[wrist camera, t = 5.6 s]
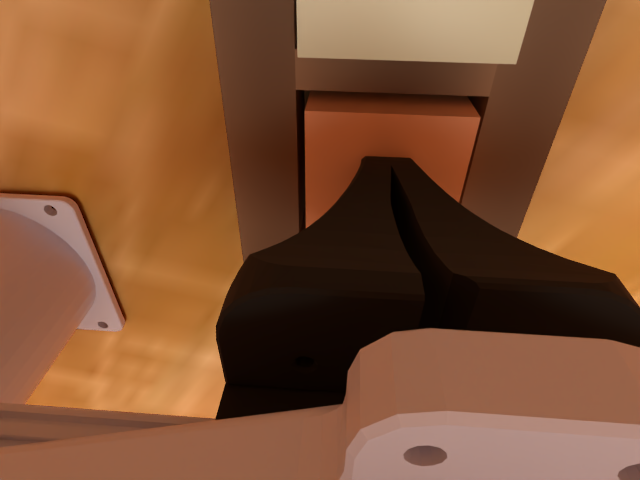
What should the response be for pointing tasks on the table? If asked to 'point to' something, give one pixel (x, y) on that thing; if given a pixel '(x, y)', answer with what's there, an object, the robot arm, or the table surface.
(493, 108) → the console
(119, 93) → the table surface
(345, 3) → the key sage
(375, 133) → the key terracotta
